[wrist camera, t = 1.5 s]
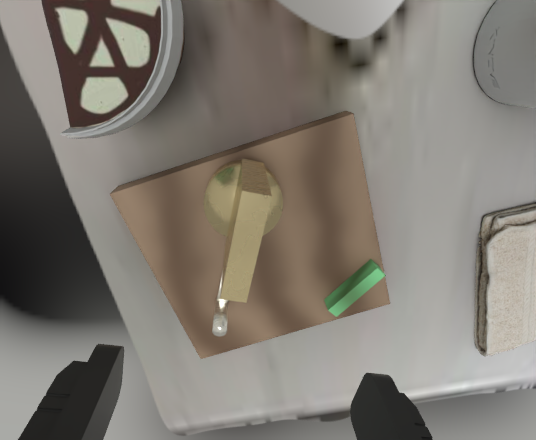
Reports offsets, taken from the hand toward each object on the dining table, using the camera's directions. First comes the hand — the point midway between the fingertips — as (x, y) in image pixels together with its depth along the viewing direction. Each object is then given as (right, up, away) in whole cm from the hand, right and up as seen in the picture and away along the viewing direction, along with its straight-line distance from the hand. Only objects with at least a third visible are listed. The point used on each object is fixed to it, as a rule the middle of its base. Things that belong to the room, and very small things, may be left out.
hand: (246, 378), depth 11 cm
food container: (-7, +19, +13) cm, 24 cm away
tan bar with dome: (-2, +4, +17) cm, 18 cm away
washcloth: (+28, 0, +25) cm, 38 cm away
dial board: (0, +3, +20) cm, 21 cm away
